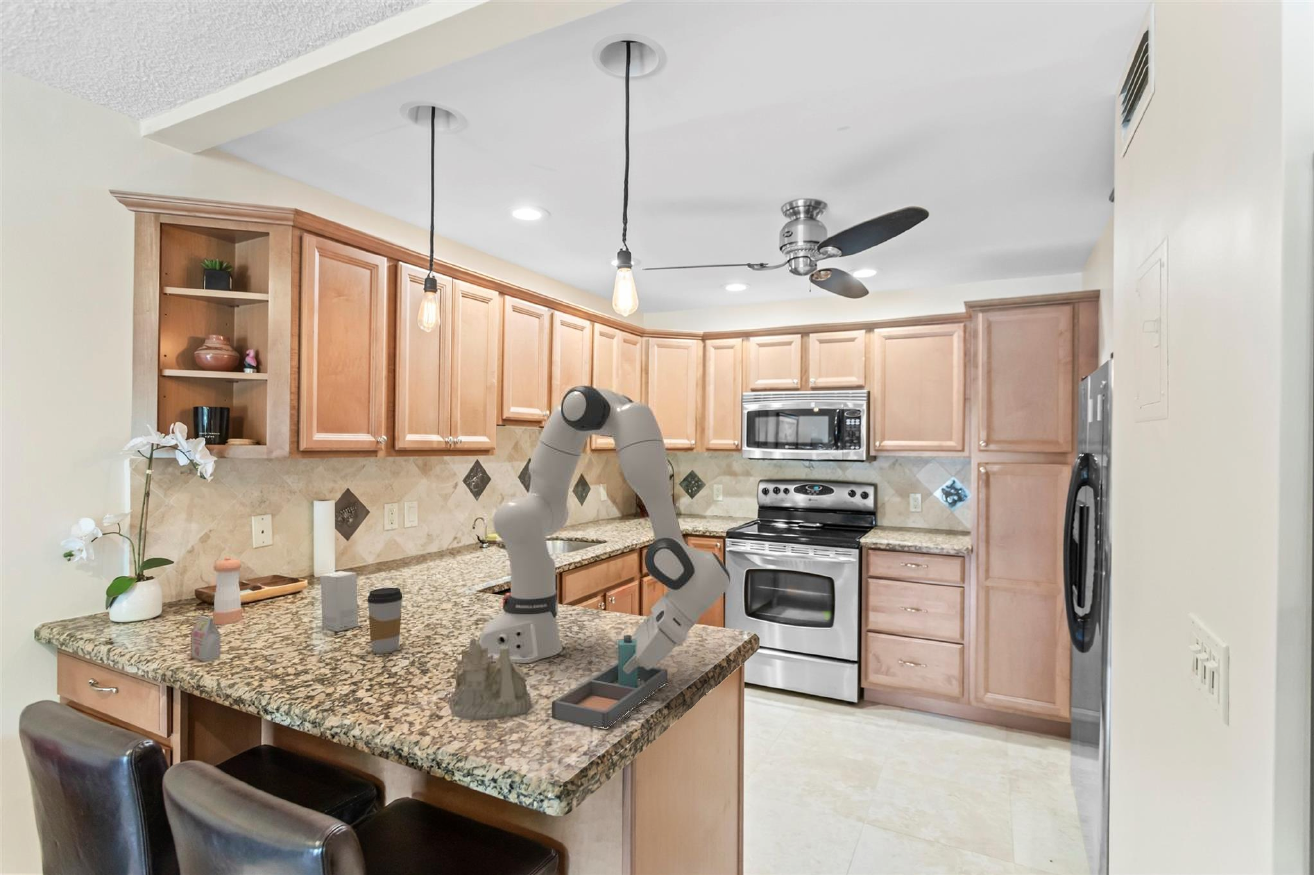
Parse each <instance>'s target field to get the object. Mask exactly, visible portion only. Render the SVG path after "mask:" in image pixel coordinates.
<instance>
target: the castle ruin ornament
mask: <svg viewBox="0 0 1314 875" xmlns="http://www.w3.org/2000/svg"><path fill="white" fill-rule="evenodd" d="M476 641H477V640H476V637H474V636H472V637H470V640H469V647H468V649H462V650H461V659H457V660H456V661H457V662H456V678H455V689H454V692H453V693H452V694H451V698H450V699H449V703H448V704H449V710H450V711H451V714H452V715H453V716H454V717H456V718H460V719H464V720H469V721H470V720H471V721H472V720H473V721H476V720H488V719H497V718H508V717H515V716H521V715H523V714H525V713H527V712H528V711H530V710H531V709H532V706H533V704H532V698H531V693H529V692H528V690H527V689H528V687H527V684H526V682H527V681H528V679H527V677H526V672H525V671H524V670H523V669H522V668H521V667H520V666H518V665H517V663H515V662H513V661H512V660H511V658H510V657H509V647H508V646H502V647H501V648H500V656H499V657H498V659H497V661H496V662H495V663H494V662H493V655H490V656H488V647H484V648H482V647H481V645H480V643H479V641H478V642H476Z"/></svg>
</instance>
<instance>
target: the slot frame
mask: <svg viewBox="0 0 1314 875" xmlns="http://www.w3.org/2000/svg"><path fill="white" fill-rule="evenodd" d="M638 679H640V680H639V681H641V680H644V681H643V682H644V683H642V684H640V685H638V688H633V687H628V686H623V685H618V683H613V682H614V681H616V680H618V662H616V663H614V664H612V665H611V666H609V667H608V668H605V669H604V670H603V671H601V672H599V673H598V674H596V675H595V676H592V677H591V678H589V679H587V680H586V681H584V682H583V683H581V684H579V685H577V686H575V687H573V688H572V689H570V690H569V691H567V692H566V693H564V694H562V695H561V696H559V697H558V698H556V699H554V700H552V701H551V718H552V719H557V720H559V721H560V720H561V721H565V722H569V723H573V722H574V724H578V723H579V724H578V725H582V724H586V725H585V726H587V725H589V726H588V727H591V726H596V727H604V728H607V727H609V726H610V725H611V724H613V723H614V722H615V721H617V720H618V719H619V718H621V717H622V716H623V715H625V714H626V713H627V712H628V711H630V710H631V709H632V708H634V707H635V706H637V705H638V704H639V703H640V702H642V701H643V700H644V699H646V697H648V696H649V695H651V694H652V693H653V692H655V691H656V690H658V689H659V688H660V687H661V686H663V685H664V684H666V683H667V684H668V669H665V668H659V667H655V666H654V667H653V668H651V669H649V670H647V669H645V668H644V667H643V666H642V665H640V666H638ZM667 684H666V685H667ZM658 691H659V690H658ZM646 700H647V699H646ZM642 703H643V702H642ZM638 706H639V705H638ZM638 706H637V707H638ZM625 716H626V715H625ZM621 719H622V718H621ZM617 722H618V721H617ZM613 725H614V724H613ZM596 727H595V728H596ZM609 728H610V727H609Z"/></svg>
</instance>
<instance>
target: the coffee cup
mask: <svg viewBox="0 0 1314 875" xmlns="http://www.w3.org/2000/svg"><path fill="white" fill-rule="evenodd" d="M401 590H402V589H400V588H399V587H382V588H381V587H380V588H376V589H373V590H370V591H369V594H368V596H367V600H366V601H367V602H366V603H367V605H368V622H369V637H370V645H371V646H370V647H371V651H372V653H373V654H379V655H380V654H383V655H384V654H389V653H394V652H395V651H397V650H398V648H399V647H400V646H399V645H400V636H401V623H402V605H403V604H402V601H403V593H402V591H401Z"/></svg>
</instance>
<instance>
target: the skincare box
mask: <svg viewBox="0 0 1314 875" xmlns="http://www.w3.org/2000/svg"><path fill="white" fill-rule="evenodd" d="M357 585H358V584H357V572H352V571H344V570H343V571H342V570H339V571H334V572H330V573H324V574H320V593H321V595H320V598H321V599H320V600H321V602H320V603H321V626H322V627H321V628H322V629H324V630H329V631H334V632H342V631H346V630H350V629H354V628H357V627H358V626H359V616H358V615H359V613H358V612H359V611H358V586H357Z"/></svg>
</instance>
